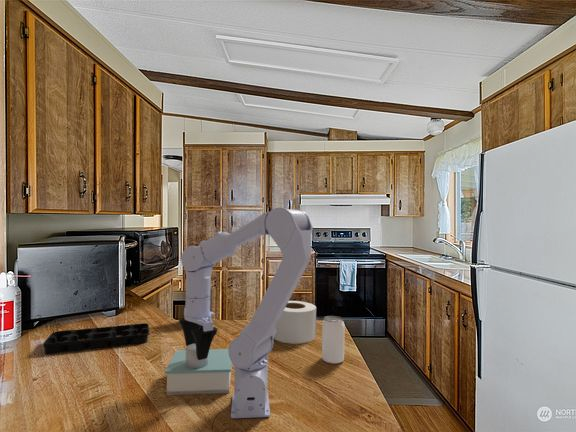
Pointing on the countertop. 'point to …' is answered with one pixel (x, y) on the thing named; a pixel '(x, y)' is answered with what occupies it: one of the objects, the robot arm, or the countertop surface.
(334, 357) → the can
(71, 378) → the countertop surface
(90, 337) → the black muffin tray
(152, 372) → the countertop surface
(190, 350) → the grey rounded dome
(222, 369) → the lid
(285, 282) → the robot arm
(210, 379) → the box
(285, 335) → the toilet paper roll
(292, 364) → the countertop surface
